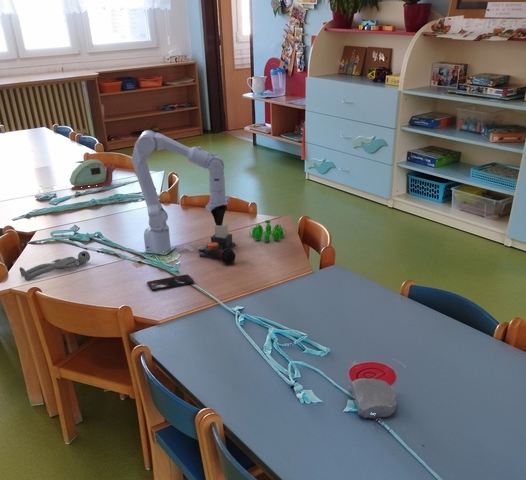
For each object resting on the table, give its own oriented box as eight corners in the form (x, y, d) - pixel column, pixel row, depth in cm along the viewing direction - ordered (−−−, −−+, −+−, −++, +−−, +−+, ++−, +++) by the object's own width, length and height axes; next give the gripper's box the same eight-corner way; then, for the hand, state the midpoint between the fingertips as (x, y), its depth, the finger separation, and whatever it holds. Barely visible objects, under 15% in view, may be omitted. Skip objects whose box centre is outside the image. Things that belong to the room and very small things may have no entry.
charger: (215, 241, 225) (214, 226, 222) (218, 238, 228) (218, 223, 225) (224, 242, 224) (224, 227, 221) (228, 239, 227) (227, 224, 224)
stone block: (384, 394, 144) (346, 389, 142) (390, 378, 141) (351, 374, 139) (397, 425, 134) (356, 420, 132) (404, 409, 131) (362, 404, 129)
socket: (211, 249, 226) (210, 237, 224) (217, 244, 231) (217, 232, 228) (226, 251, 224) (226, 239, 222) (232, 246, 229) (232, 234, 226)
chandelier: (266, 246, 228) (266, 229, 225) (242, 237, 238) (241, 220, 234) (293, 237, 237) (293, 221, 233) (269, 228, 246) (269, 213, 243)
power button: (206, 249, 219) (206, 245, 218) (210, 245, 222) (210, 241, 221) (215, 250, 218) (215, 246, 217) (220, 247, 221) (220, 242, 220)
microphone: (196, 260, 224) (230, 268, 210) (191, 247, 220) (224, 254, 207) (206, 252, 226) (240, 259, 213) (200, 240, 223) (235, 246, 209)
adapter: (199, 257, 219) (199, 249, 218) (217, 243, 232) (216, 236, 230) (218, 259, 217) (218, 252, 215) (235, 245, 230) (235, 238, 228)
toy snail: (73, 191, 299) (68, 164, 292) (69, 188, 305) (64, 161, 298) (119, 184, 311) (116, 158, 304) (114, 181, 316) (111, 155, 309)
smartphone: (194, 281, 198) (151, 289, 192) (194, 283, 198) (152, 291, 193) (187, 274, 203) (146, 281, 198) (187, 275, 204) (146, 283, 198)
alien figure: (16, 264, 203) (84, 246, 215) (20, 277, 206) (87, 258, 218) (23, 271, 198) (92, 253, 210) (27, 284, 200) (95, 265, 212)
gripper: (216, 195, 207) (218, 232, 214) (236, 186, 218) (237, 220, 225) (199, 193, 210) (202, 229, 217) (220, 183, 221) (221, 218, 228)
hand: (218, 224), depth 221 cm, fingers closed
